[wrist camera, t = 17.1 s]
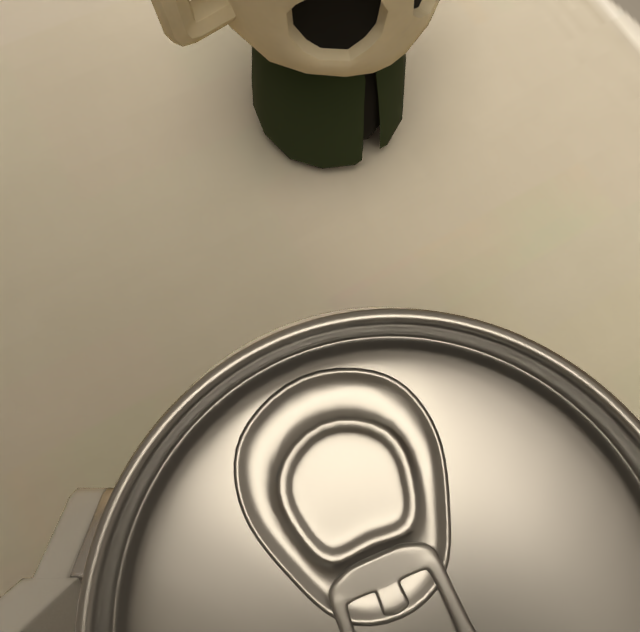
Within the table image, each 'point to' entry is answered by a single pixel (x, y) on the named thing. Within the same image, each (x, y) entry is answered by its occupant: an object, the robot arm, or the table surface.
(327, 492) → the can
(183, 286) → the table surface
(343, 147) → the character mug
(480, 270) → the table surface
